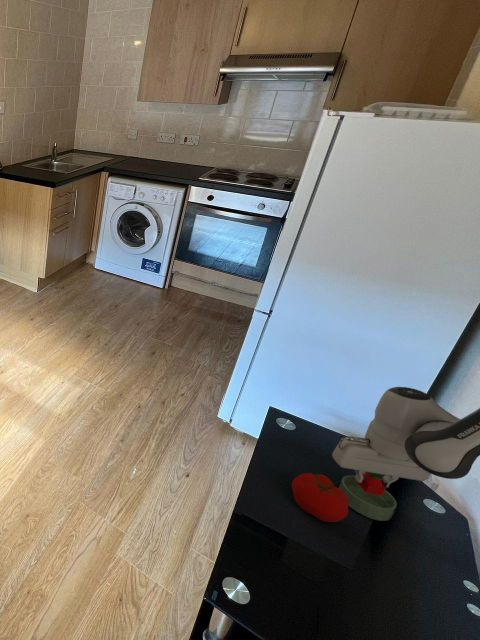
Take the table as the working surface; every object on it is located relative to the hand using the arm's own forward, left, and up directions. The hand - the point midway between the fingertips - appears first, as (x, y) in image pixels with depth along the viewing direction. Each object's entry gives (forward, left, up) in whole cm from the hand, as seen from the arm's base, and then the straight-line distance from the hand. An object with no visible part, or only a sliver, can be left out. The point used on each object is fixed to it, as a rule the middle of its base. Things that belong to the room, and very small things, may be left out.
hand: (371, 483), depth 111 cm
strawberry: (0, 0, -2) cm, 2 cm away
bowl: (0, 0, -7) cm, 7 cm away
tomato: (+14, +5, -8) cm, 17 cm away
